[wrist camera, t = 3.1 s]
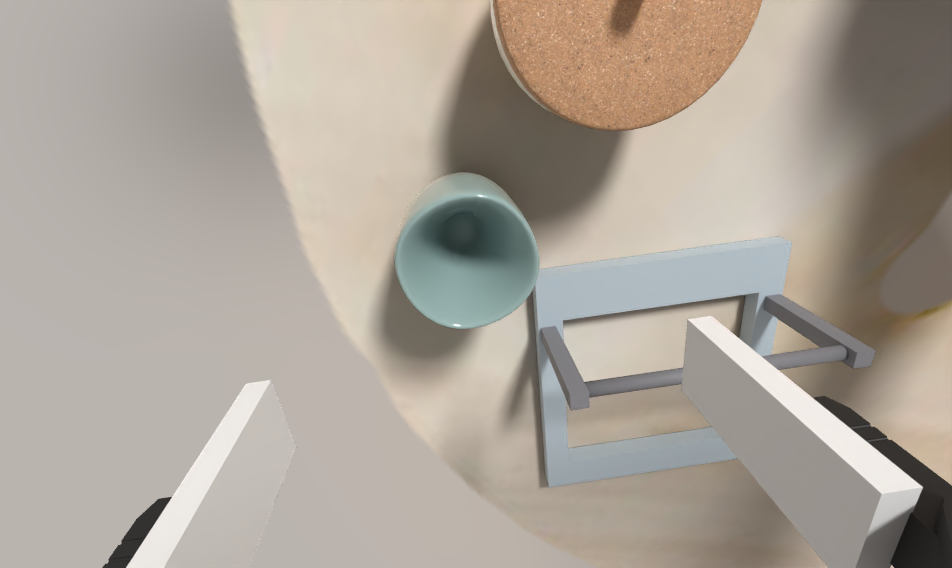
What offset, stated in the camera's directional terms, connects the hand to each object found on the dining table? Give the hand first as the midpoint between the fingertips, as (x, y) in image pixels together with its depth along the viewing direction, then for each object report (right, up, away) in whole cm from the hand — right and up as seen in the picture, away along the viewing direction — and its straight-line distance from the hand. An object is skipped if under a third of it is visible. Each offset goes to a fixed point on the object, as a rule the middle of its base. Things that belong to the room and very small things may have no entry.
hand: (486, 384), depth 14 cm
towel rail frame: (+15, -4, +25) cm, 30 cm away
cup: (-2, +8, +19) cm, 20 cm away
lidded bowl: (+6, +20, +14) cm, 25 cm away
